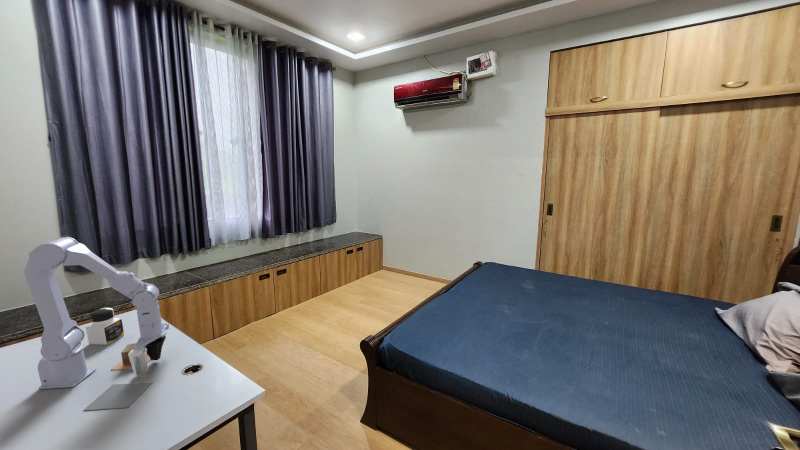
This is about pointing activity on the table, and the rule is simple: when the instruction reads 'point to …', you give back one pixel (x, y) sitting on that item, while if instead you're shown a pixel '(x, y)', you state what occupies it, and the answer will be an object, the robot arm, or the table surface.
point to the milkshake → (139, 362)
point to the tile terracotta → (121, 367)
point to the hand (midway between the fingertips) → (155, 359)
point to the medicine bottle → (104, 327)
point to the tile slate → (118, 396)
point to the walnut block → (125, 354)
